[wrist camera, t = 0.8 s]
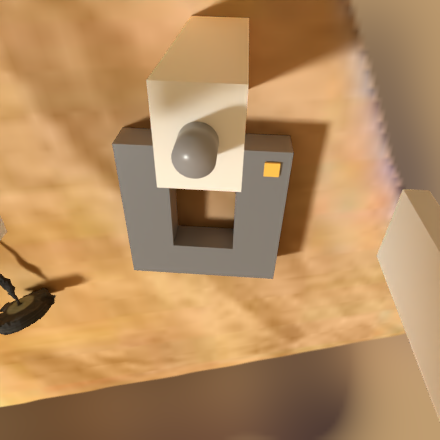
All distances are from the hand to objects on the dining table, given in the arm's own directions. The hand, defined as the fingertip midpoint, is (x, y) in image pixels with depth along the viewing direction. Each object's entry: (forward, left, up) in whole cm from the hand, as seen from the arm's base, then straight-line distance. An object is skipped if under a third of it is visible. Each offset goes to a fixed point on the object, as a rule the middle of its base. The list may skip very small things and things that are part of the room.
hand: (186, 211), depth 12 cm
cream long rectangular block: (0, 0, -19) cm, 19 cm away
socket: (-1, -13, -19) cm, 23 cm away
